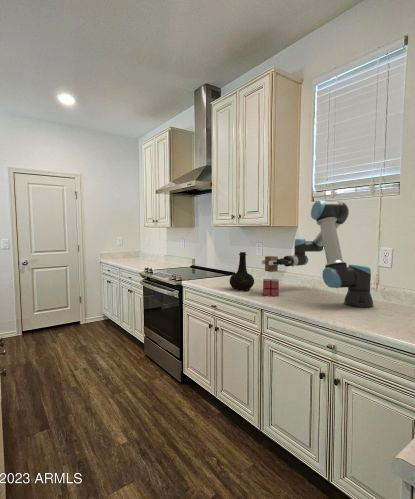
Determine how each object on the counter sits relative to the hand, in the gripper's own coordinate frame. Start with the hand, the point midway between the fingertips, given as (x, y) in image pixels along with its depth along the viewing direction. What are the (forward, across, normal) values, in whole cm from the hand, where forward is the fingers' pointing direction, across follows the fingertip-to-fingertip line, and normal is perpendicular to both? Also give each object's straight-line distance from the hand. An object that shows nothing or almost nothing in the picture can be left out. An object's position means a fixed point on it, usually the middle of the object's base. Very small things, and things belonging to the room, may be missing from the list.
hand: (265, 262), depth 199 cm
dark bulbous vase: (+1, +24, -22) cm, 33 cm away
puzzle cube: (-5, 0, -22) cm, 23 cm away
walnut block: (-5, 0, -6) cm, 8 cm away
